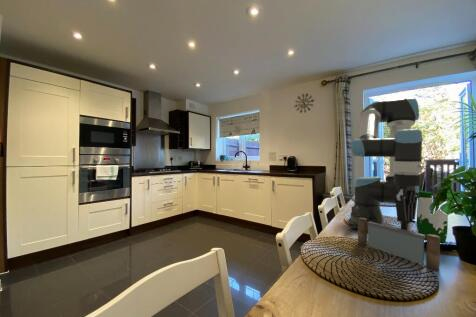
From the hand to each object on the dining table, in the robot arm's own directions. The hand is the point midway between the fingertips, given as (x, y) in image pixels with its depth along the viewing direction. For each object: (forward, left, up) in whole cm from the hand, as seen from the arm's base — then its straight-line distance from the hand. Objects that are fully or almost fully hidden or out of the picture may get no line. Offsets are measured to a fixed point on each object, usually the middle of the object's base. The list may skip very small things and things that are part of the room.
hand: (405, 240), depth 75 cm
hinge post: (+5, -12, -5) cm, 14 cm away
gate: (+5, -2, -4) cm, 7 cm away
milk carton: (-21, +2, -5) cm, 21 cm away
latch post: (+5, +9, -5) cm, 11 cm away
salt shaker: (-9, -22, -5) cm, 24 cm away
